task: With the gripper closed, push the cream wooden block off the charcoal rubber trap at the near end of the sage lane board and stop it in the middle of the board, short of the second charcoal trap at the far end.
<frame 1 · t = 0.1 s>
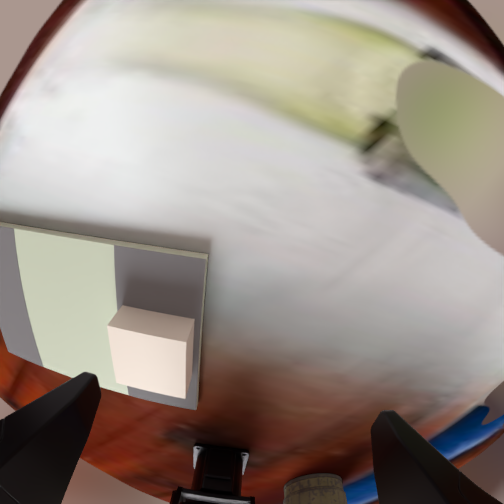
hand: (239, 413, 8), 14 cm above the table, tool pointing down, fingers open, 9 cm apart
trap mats: (72, 321, 24), on the lane board, point 1 cm above the table
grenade: (313, 484, 34), on the table
cream block: (157, 342, 24), point 1 cm above the table, touching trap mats
lane board: (77, 315, 25), on the table
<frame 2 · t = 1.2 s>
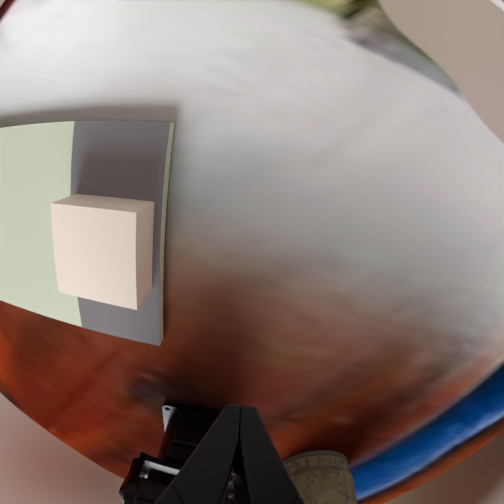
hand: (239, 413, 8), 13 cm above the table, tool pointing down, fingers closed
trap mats: (25, 227, 19), on the lane board, point 1 cm above the table
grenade: (312, 465, 30), on the table
cream block: (112, 240, 19), point 1 cm above the table, touching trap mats
lane board: (32, 223, 20), on the table
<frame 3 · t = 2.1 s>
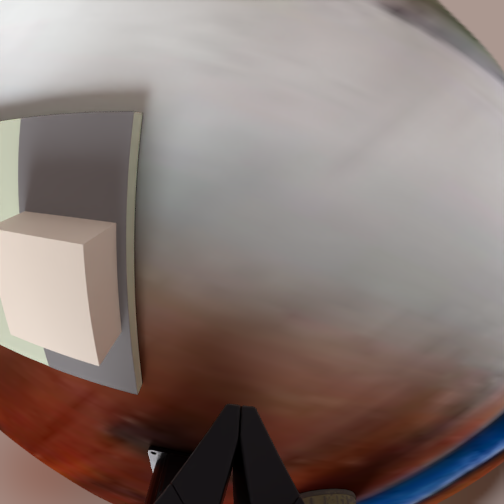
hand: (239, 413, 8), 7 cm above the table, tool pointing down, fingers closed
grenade: (317, 501, 25), on the table
cream block: (69, 271, 14), point 1 cm above the table, touching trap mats
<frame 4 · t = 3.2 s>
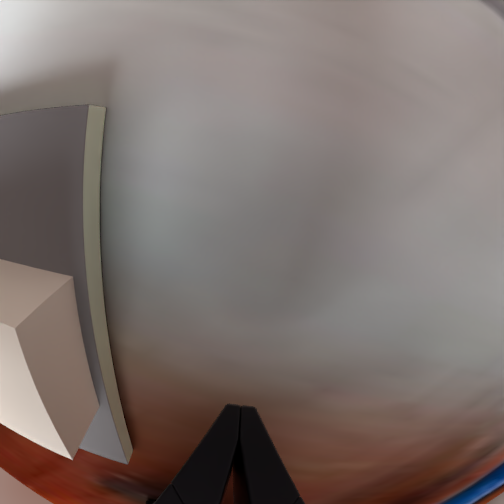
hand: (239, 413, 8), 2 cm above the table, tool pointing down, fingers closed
cream block: (25, 332, 9), point 1 cm above the table, touching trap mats
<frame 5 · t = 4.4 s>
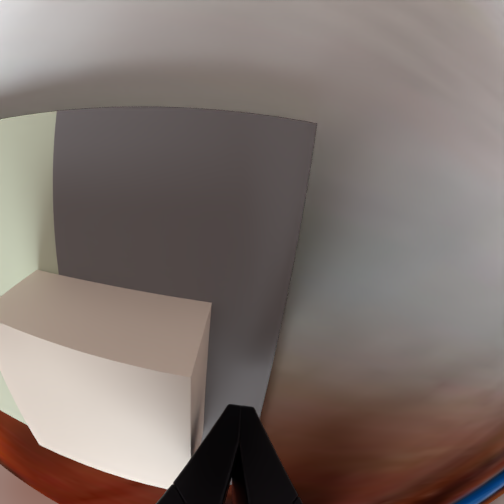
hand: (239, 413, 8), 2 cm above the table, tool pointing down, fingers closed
cream block: (120, 362, 9), point 1 cm above the table, touching gripper, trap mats
lane board: (1, 307, 10), on the table
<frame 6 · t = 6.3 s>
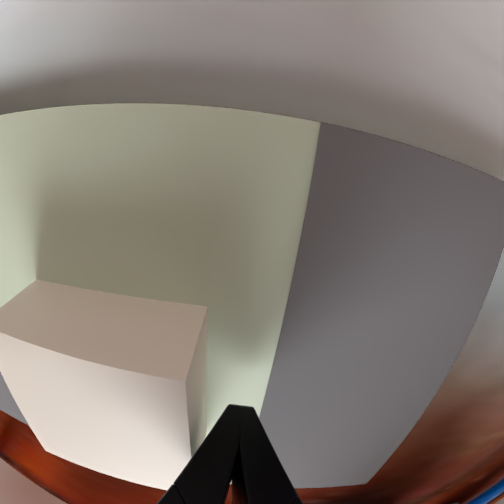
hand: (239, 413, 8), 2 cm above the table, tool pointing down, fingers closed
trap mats: (120, 361, 9), on the lane board, point 1 cm above the table
cream block: (121, 367, 9), point 1 cm above the table, touching gripper, lane board
lane board: (130, 344, 10), on the table
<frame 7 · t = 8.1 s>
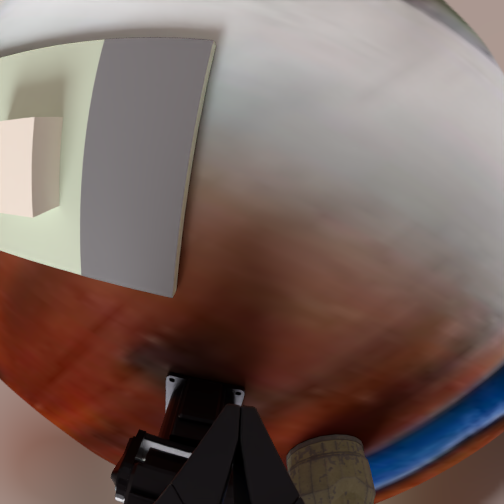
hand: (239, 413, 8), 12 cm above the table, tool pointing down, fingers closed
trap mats: (29, 156, 16), on the lane board, point 1 cm above the table
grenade: (325, 453, 28), on the table
cream block: (29, 161, 16), point 1 cm above the table, touching lane board
lane board: (38, 154, 17), on the table
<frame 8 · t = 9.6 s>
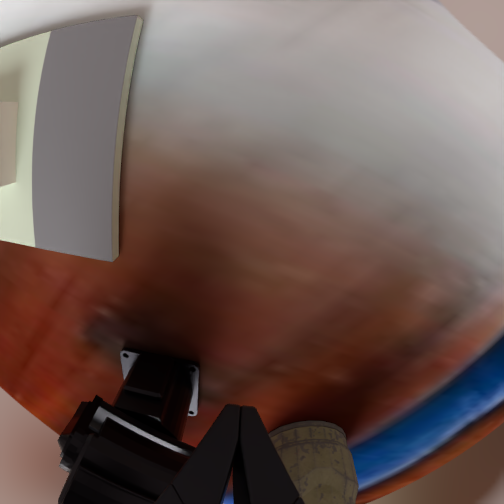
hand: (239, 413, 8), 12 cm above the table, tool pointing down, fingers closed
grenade: (303, 442, 26), on the table
lane board: (1, 140, 17), on the table
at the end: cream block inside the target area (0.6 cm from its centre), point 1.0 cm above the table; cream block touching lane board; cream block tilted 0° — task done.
